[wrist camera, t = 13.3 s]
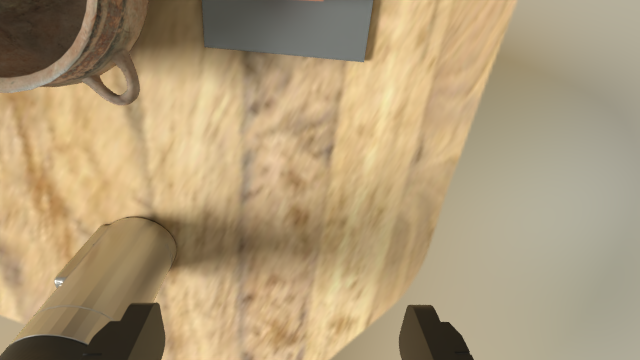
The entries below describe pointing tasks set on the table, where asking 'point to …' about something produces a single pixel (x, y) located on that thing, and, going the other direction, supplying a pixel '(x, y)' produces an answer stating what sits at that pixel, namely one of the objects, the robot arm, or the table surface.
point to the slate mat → (289, 27)
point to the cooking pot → (69, 44)
